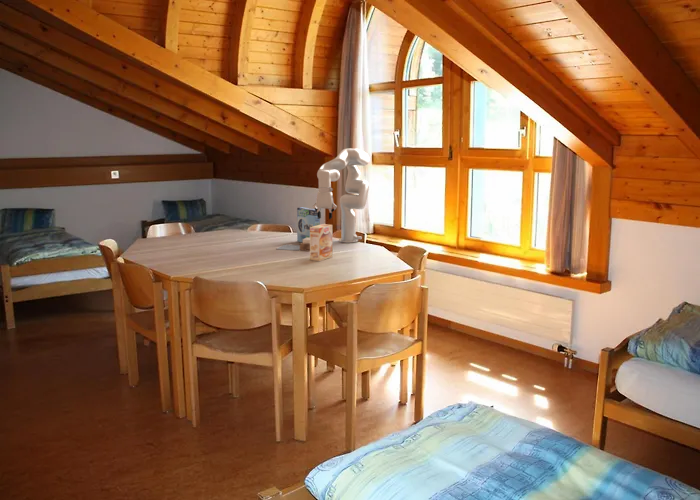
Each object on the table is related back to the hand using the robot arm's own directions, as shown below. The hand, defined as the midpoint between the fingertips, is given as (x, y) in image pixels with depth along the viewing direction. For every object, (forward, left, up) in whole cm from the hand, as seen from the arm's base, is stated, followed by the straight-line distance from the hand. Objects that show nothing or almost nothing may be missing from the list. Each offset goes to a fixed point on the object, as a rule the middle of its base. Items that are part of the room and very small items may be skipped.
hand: (324, 218), depth 424 cm
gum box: (+18, -20, -20) cm, 33 cm away
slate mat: (+22, 0, -20) cm, 30 cm away
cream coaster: (+10, 0, -14) cm, 17 cm away
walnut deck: (+10, 0, -20) cm, 22 cm away
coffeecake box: (-6, +29, -20) cm, 36 cm away
